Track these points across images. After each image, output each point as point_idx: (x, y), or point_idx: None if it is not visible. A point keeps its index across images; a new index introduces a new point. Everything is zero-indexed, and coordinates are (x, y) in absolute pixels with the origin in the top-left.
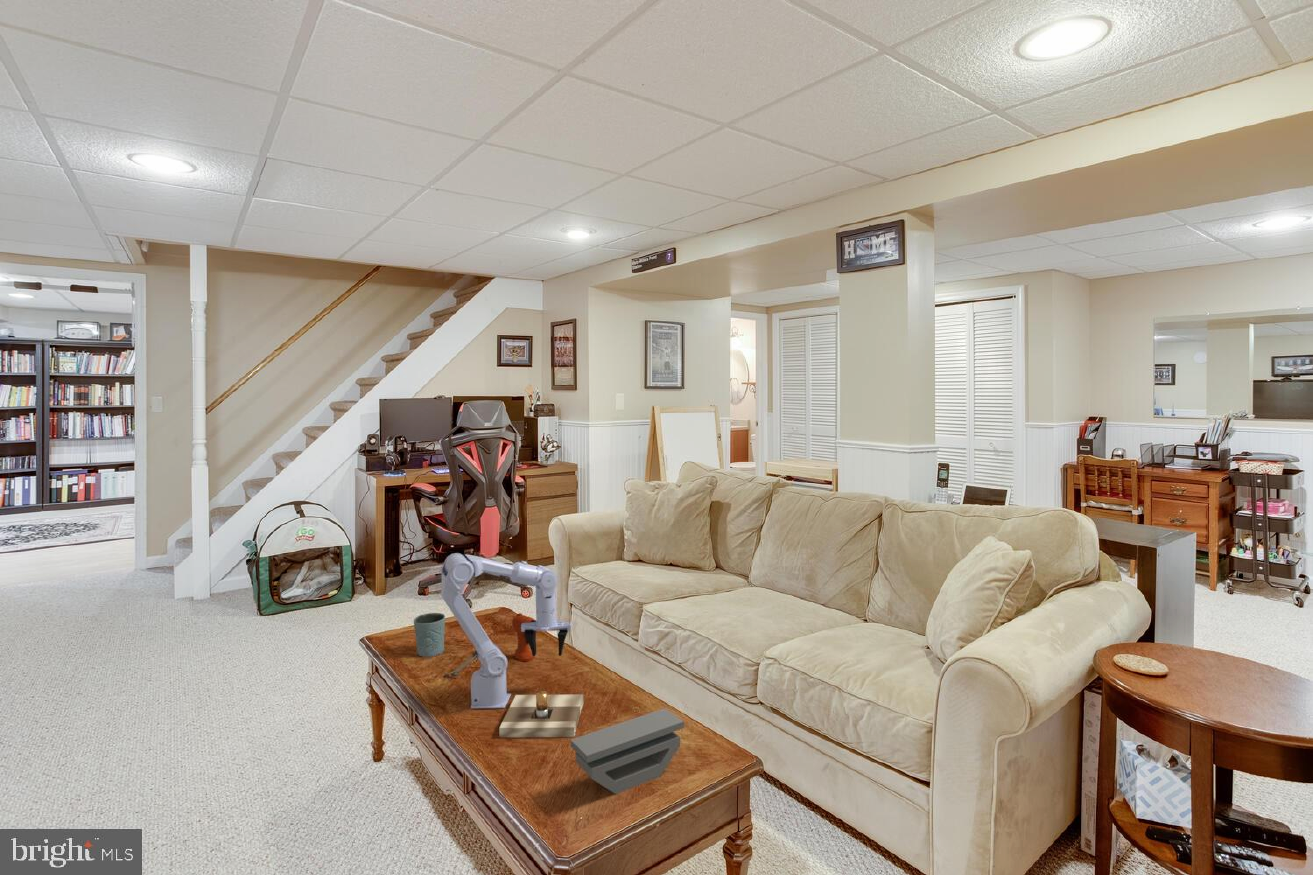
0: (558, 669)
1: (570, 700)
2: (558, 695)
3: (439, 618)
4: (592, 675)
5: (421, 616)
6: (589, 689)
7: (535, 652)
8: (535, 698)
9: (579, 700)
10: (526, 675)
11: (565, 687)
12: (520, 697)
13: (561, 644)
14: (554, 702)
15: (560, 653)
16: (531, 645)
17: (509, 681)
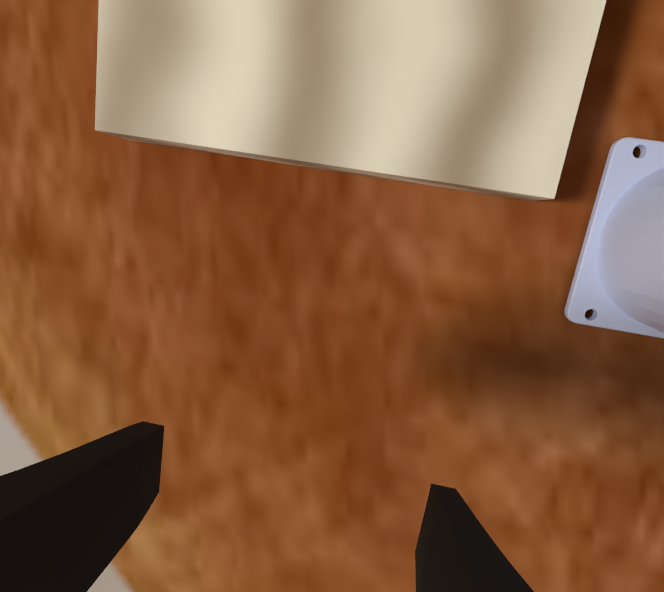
0: (287, 572)
1: (169, 47)
2: (252, 139)
3: None
4: None
5: None
6: (110, 303)
7: (426, 535)
8: (410, 118)
9: (111, 38)
10: None
11: (240, 354)
12: (519, 150)
13: (4, 480)
14: (274, 29)
15: (126, 427)
16: (509, 590)
17: (567, 500)
